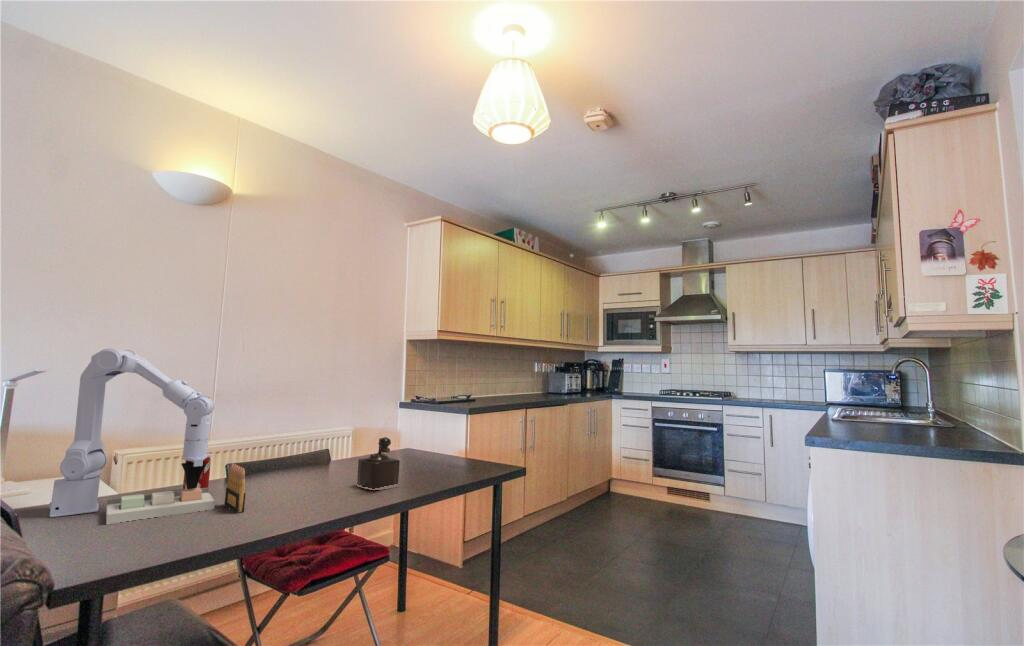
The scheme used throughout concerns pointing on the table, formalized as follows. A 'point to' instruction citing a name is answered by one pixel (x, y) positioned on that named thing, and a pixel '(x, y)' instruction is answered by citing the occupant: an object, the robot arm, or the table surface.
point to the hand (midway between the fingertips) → (191, 488)
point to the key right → (190, 494)
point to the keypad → (157, 508)
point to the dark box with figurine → (378, 468)
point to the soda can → (204, 475)
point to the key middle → (162, 498)
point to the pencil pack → (235, 489)
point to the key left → (132, 501)
